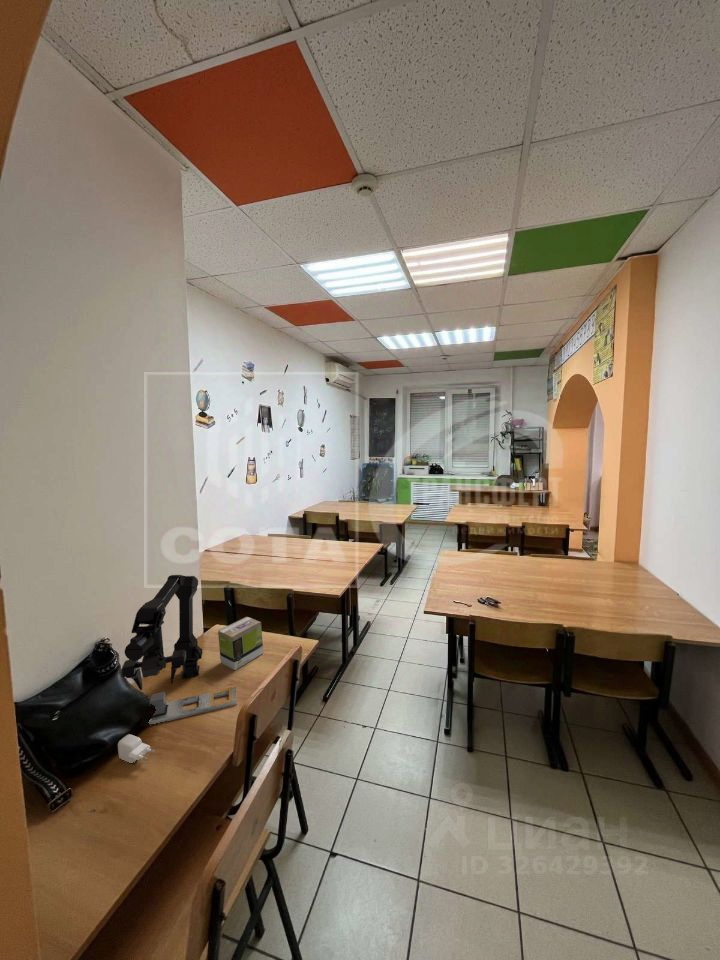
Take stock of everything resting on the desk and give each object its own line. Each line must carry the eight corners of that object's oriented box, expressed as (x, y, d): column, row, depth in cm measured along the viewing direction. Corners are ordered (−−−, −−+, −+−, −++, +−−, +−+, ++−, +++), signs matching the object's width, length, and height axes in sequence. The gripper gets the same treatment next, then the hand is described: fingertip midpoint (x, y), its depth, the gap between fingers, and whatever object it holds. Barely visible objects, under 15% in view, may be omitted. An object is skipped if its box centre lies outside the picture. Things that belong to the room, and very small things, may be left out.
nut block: (153, 713, 130) (151, 694, 129) (166, 710, 131) (164, 691, 130) (151, 721, 126) (149, 701, 125) (164, 718, 127) (163, 698, 127)
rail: (145, 711, 131) (144, 706, 131) (235, 690, 141) (235, 686, 140) (140, 727, 123) (139, 723, 123) (236, 704, 133) (236, 700, 133)
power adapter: (158, 759, 111) (156, 741, 110) (143, 773, 106) (141, 754, 106) (131, 748, 115) (130, 731, 114) (116, 761, 111) (114, 743, 110)
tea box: (249, 646, 170) (247, 615, 169) (263, 653, 164) (262, 621, 163) (219, 663, 158) (217, 629, 156) (234, 671, 152) (232, 636, 151)
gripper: (113, 662, 115) (118, 709, 117) (181, 649, 121) (184, 694, 123) (123, 643, 126) (127, 687, 127) (184, 632, 132) (187, 674, 133)
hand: (156, 686), depth 128 cm, fingers open, 9 cm apart
